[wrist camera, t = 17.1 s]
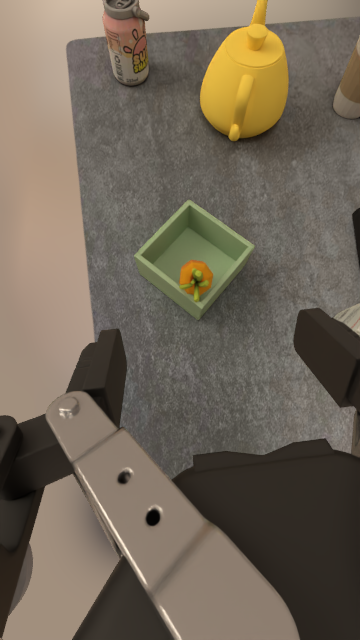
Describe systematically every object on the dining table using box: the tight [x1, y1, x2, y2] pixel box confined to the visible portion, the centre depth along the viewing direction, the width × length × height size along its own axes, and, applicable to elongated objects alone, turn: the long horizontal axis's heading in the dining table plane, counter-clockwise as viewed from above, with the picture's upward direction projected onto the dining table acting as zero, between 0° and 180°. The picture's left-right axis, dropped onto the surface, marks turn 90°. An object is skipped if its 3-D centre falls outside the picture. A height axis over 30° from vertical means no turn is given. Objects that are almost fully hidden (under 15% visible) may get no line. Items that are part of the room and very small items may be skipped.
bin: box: [134, 200, 255, 320], centre depth 44 cm, size 14×14×7 cm
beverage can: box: [103, 0, 149, 86], centre depth 54 cm, size 9×8×12 cm
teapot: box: [200, 0, 288, 141], centre depth 51 cm, size 25×18×14 cm
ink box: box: [334, 303, 360, 336], centre depth 39 cm, size 9×5×12 cm, turn 134°
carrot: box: [179, 260, 213, 302], centre depth 39 cm, size 5×5×15 cm
